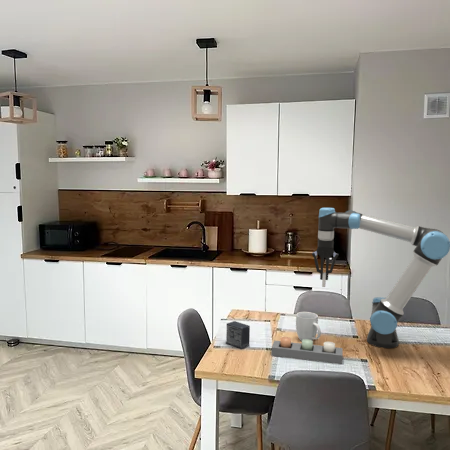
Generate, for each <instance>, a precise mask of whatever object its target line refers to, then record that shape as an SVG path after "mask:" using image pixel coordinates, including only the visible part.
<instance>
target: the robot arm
mask: <svg viewBox="0 0 450 450" xmlns="http://www.w3.org/2000/svg"><path fill="white" fill-rule="evenodd" d="M335 229H348V230H349V229H350V230H353V229H354V230H355V229H356V230H358V229H360V230H363V231H367V232H371V233H375V234H378V235H382V236H385V237H386V236H387V237H388V238H389V237H390V238H393V239H396V240H400V241H403V242H404V241H405V242H407V243H410V244H411V245H412V246H414V247H415V248H414V250H413V251H412V253H413V257H412V259H411V260H410V262H409V263H408V264H407V266H406V268H405V269H404V271H403V272H402V274H401V275H400V277H399V278H398V279H397V282H396V283H395V284H394V286H393V288H391V291H390V292H389V293H388V295H387V297H374V298H372V302H371V303H372V304H371V305H372V307H371V315H370V318H369V322H370V327H369V331H368V333H367V336H366V341H367V343H368V344H370V345H372V346H374V347H377V348H382V349H395V348H397V347H398V346H399V342H400V341H399V337H398V334H397V328H398V323H399V322H400V320H401V319H402V318H403V315H404V314H405V313H404V307H406V305H407V304H408V302H409V301H410V299H411V298H412V296H413V295H414V293H415V292H416V290H417V289H418V288H419V286H420V285H421V284H422V283H423V280H424V279H425V277H426V276H427V274H428V273H429V272H430V270H431V269H432V267H436V266H438V265H439V264H440V262H441V260H442V259H444V258H445V257H446V256H447V255H448V254H449V253H450V239H449V237H448V235H446V234H445V233H444V232H443V231H441V230H439V229H436V228H430V227H424V226H419V225H417V226H415V227H414V226H411V225H407V224H403V223H400V222H395V221H392V220H387V219H383V218H380V217H375V216H372V215H368V214H365V213H360V212H356V211H355V210H351V209H350V210H346V211H345V212H337V211H336V209H335V208H334V207H321V208H320V209H319V213H318V229H317V231H318V232H317V249H316V251H313V252H312V253H311V256H312V257H313V260H314V265H315V270H316V273H319V280H322V284H321V287H322V288H325V287H326V282H327V281H329V274H332V273H333V272H334V270H333V269H334V267H335V263H336V262H337V261H336V260H337V258H338V257H339V253H336V252H335V250H334V238H335ZM317 255H318V256H319V257H320V266H319V262H318V257H317ZM332 256H333V258H332V262H331V265H330V268H329V264H330V258H331V257H332ZM324 259H325V261H326V262H325V263H326V264H325V272H324Z"/></svg>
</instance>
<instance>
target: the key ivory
mask: <svg viewBox="0 0 450 450" xmlns="http://www.w3.org/2000/svg"><path fill="white" fill-rule="evenodd" d="M323 346H324V350H323V352H327V353H335V347H336V343H335V342H333V341H324V342H323Z"/></svg>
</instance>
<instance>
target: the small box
mask: <svg viewBox="0 0 450 450" xmlns="http://www.w3.org/2000/svg"><path fill="white" fill-rule="evenodd" d="M250 328H251V326H250V325H248V324H245V323H242V322H239V321H236V320H234V321H231V322H227V323H226V334H225V336H226V340H225V344H227V345H229V346H232V347H234V348H238V349H240V350H242V349H243V350H244V349H245V348H247V347H249V346H250V338H251V337H250V330H251V329H250Z"/></svg>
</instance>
